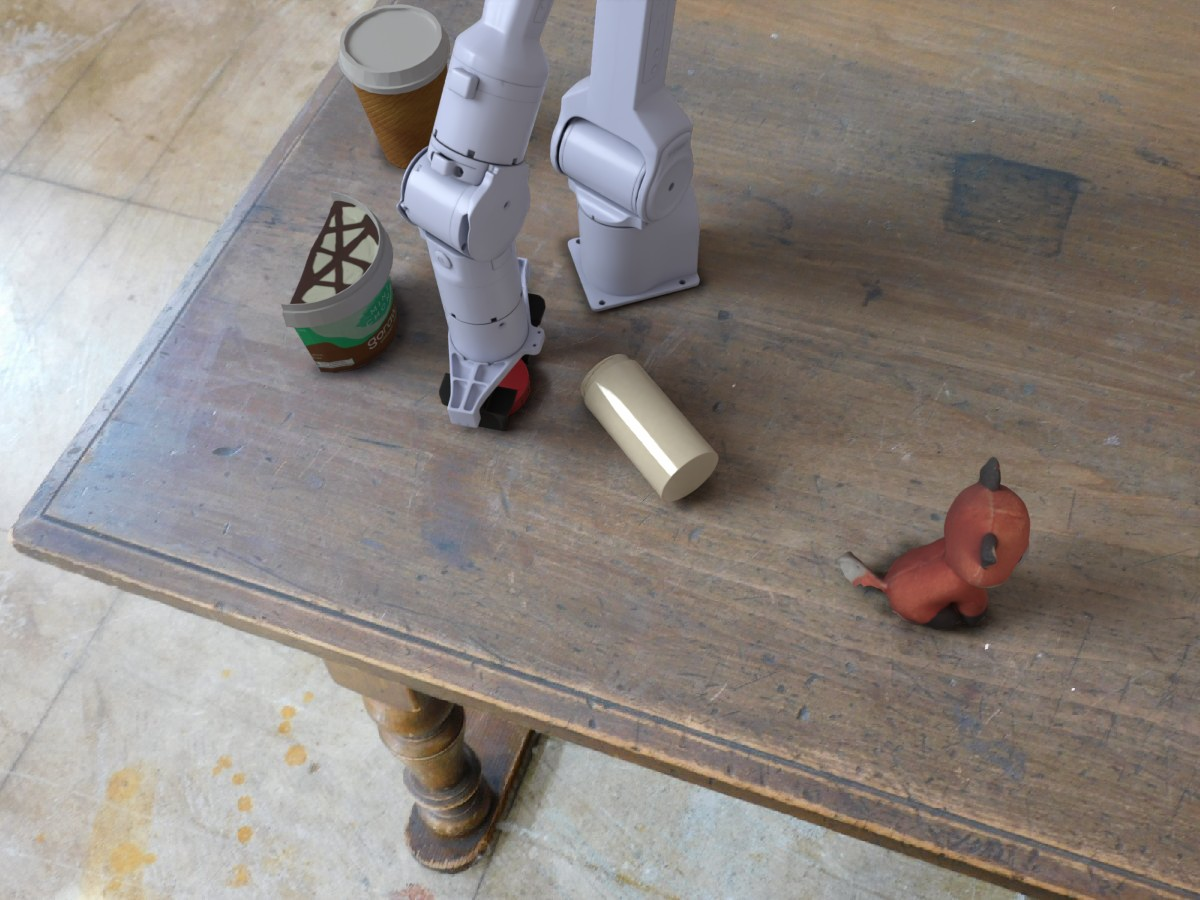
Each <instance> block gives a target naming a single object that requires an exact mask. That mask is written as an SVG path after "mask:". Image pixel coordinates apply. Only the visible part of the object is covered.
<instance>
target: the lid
mask: <svg viewBox="0 0 1200 900" xmlns="http://www.w3.org/2000/svg"><path fill="white" fill-rule="evenodd" d="M531 382H532V378H531V375H530V374H529V370H528V367H527V364H525V363H524V362H523V361H522V359H521V358H520V359H519V361H518V362H517V363H516V364H515V365H514V367H513V368H512V369H511V370H510V371H509V373H508V374H507V375H506V376H505V377H504V378H503V380H502V381H501V382H500V383H499V384H498V386H500V387H506V388H511V389H517V390H518V392H517V395H516V398H515V401H514V404H513V407H512V409H511V411H510V413H509V415H508V416H510V415H513V414H514V413H515V412H517V411H518V410H519V409H521V408H522V407H523V406H524V405H525V403H526V401H527V400H528V397H529V395H530V394H531Z"/></svg>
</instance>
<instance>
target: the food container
mask: <svg viewBox="0 0 1200 900" xmlns="http://www.w3.org/2000/svg"><path fill="white" fill-rule="evenodd" d="M329 192H330V196H331V199H332V205H331V207H330V208H329V209H330V210H329V213H328V215H327V218H326V220H325V221H324V224H323V226H322V228H321V231H320V232H319V234H318V236H317V237H316V239H315V241H314V243H313V245H312V247H311V248H310V251H309V253H308V255H307V259H306V262H305V265H304V267H303V271H302V273H301V275H300V279H299V282H298V283H297V285H296V288H295V291H294V293H293V295H292V298H291V299H290V302H289V303H282V302H281V303H280V306H281V309H282V312H281V314H282V317H283V321H284V324H285V327H286V328H293V329H294V330H295V332H296V333H297V335H298V337H299V339H300V340H301V341H302V344H303V345H304V346H305V348H306V350H307V351H308V353H309V355H310V356H311V358H312V360H313V361H314V363H315V365H316V366H317V368H318V370H319V371H320V372H321V373H340V372H348V371H354V370H356V369H358V368H361V367H363V366H365V365H368V364H370V363H372V362H373V361H375V360H376V359H377V358H378V357H380V356H381V355H383V354H384V353H385V352H386V351H387V349H388V348H389V347H390V346H391V344H392V343H393V341H394V339H395V338H396V336H397V331H398V328H399V317H398V311H397V305H396V300H395V296H394V289H393V285H392V281H391V271H392V268H393V264H394V250H393V243H392V241H391V239H390V236H389V234H388V231H386V229H385V227H384V226H383V224H382V223H381V221H380V220H379V218H378V217H377V215H375V214H374V212H373V211H372V210H371V209H370V208H368V207H367V206H366V205H365V204H363V203H362V202H360V201H359V200H358V199H356V198H354V197H352V196H350V195H347V194H344V193H342V192H338V191H337V192H336V191H333V190H332V191H329Z"/></svg>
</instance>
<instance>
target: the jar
mask: <svg viewBox="0 0 1200 900" xmlns="http://www.w3.org/2000/svg"><path fill="white" fill-rule="evenodd" d="M580 394H581V396H582V399H583V401H584V405H585V407H586V408H587V409H588V411H590V413H591V414H592V415H593V417H594V418H595V419H596V420H597V422H598V423H599V424H600V426H602V428H603V429H604V430H605V431H606V432H607V434H608V435H609V436H610V438H612V440H613V441H614V442H615V444H616V445H617V446H618V447H619V448H620V450H621V451H622V452H623V453H624V454H625V456H626V457H627V458H628V459H629V461H630V462H631V464H633V466H634V467H635V468H636V470H638V471H639V473H640V474H641V475H642V477H643V478H644V479H645V480H646V482H647V483H648V484H649V485H650V486H651V488H652V489H653V490H654V492H656V494H657V495H658V496H659V498H660V499H661V500H662V501H664V502H667V503H671V502H676V501H678V500H681V499H683V498H686V496H689V495H690V494H692V493H693V492H694V491H696V490H697V489H698V488H700V487H701V486H702V485H703V484H704V483H705V482H706V481H707V480H708V479H709V478H710V476H711V475H712V474H713V472H714V471H715V469H716V467H717V466H718V463H719V460H720V459H719V458H720V457H719V454H718V452H717V451H716V450H715V449H714V448H713V447H712V445H710V443H709V442H708V441H707V440H706V439H705V438H704V437H703V435H702V434H701V432H699V431H698V430H697V428H696V427H695V426H694V424H692V423H691V422H690V420H689V418H687V417H686V416H685V414H683V413H682V411H681V410H680V409H679V408H678V407H677V406H676V404H674V402H673V401H672V400H671V399H670V397H669V396H668V395H667V394H666V393H665V392H664V391H663V390H662V388H661V387H660V386H659V385H658V384H657V382H656V381H655V380H654V379H653V377H651V376H650V374H649V373H648V372H647V371H646V370H645V369H644V368H643V367H642V365H641V364H640V363H639V362H638V361H636V360H634V359H631V358H630V357H629V356H628V355H627V354H624V353H617V354H612V355H609V356H608V357H606V358H605V357H604V358H603V359H601V361H599V362H597V363H596V364H595V365H594V366H593V367H592V368H591V369H590V370H589V371H588V372H587V373H586V375H585V376H584V378H583V380H582V382H581V385H580Z"/></svg>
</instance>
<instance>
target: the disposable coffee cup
mask: <svg viewBox="0 0 1200 900" xmlns="http://www.w3.org/2000/svg"><path fill="white" fill-rule="evenodd" d="M450 53H451V41H450V37H449V34H448V33H447V31H446V30H445V28H444V27H443V26H442V25H441V24H440V22H439V21H438V19H437V18H436V17H435V16H434V15H433V14H432V13H431V12H430V11H428V10H426V9H424V8H421V7H418V6H414V5H411V4H401V3H396V4H395V3H394V4H384V5H380V6H377V7H373V8H371V9H369V10H366V11H364V12H362V13H359V15H357V16H356V17H354V18H353V19H352V20H350V21H349V23H347V24H346V26H345V27H344V29H343V31H342V32H341V35H340V38H339V46H338V49H337V63H338V66H339V69H340V70H341V73H342V74H343V75H344V76H345V77H346V78H347V79H348V80H349V81H350V82H351V84H352V87H353V89H354V91H355V92H356V95H357V97H358V101H359V102H360V103H361V107H362V108H363V111H364V112H365V115H366V117H367V119H368V121H369V123H370V126H371V128H372V130H373V132H374V134H375V137H376V138H377V141H378V143H379V146H380V147H381V149H382V152H383V153H384V156H385V158H386V160H387V161H388V162H390V164H392V165H394V166H396V167H398V168H400V169H404V170H406V169H407V167H408V166H409V164H410V162H411V161H412V160H413V158H414V157H415V156H416V155H417V154H418V153H419V152H420V151H422V149H424V148H425V147H427V146H429V143H430V139H431V135H432V131H433V128H434V124H435V120H436V116H437V112H438V108H439V104H440V100H441V96H442V92H443V88H444V84H445V80H446V76H447V72H448V61H449V60H448V59H449V56H450Z"/></svg>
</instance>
